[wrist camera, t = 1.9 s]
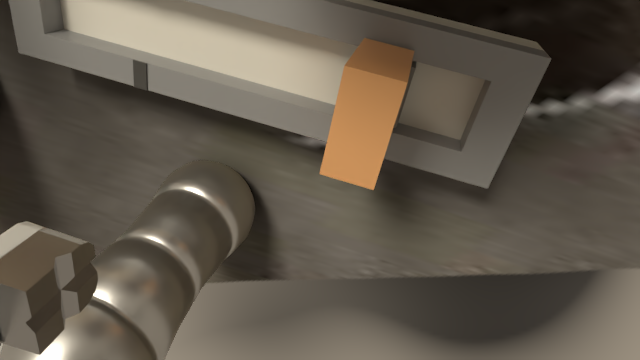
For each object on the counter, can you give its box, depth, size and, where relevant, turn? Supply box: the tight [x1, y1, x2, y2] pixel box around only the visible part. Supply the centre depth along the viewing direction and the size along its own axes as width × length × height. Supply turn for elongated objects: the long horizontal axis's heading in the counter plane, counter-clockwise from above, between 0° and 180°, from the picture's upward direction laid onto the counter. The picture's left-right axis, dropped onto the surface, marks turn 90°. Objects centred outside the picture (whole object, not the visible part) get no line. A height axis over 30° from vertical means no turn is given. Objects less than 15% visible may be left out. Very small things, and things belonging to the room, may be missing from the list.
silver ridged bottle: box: [0, 160, 255, 360], centre depth 23 cm, size 6×7×20 cm
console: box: [9, 0, 551, 189], centre depth 23 cm, size 28×7×4 cm, turn 78°
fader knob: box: [320, 38, 417, 190], centre depth 20 cm, size 3×5×7 cm, turn 169°
